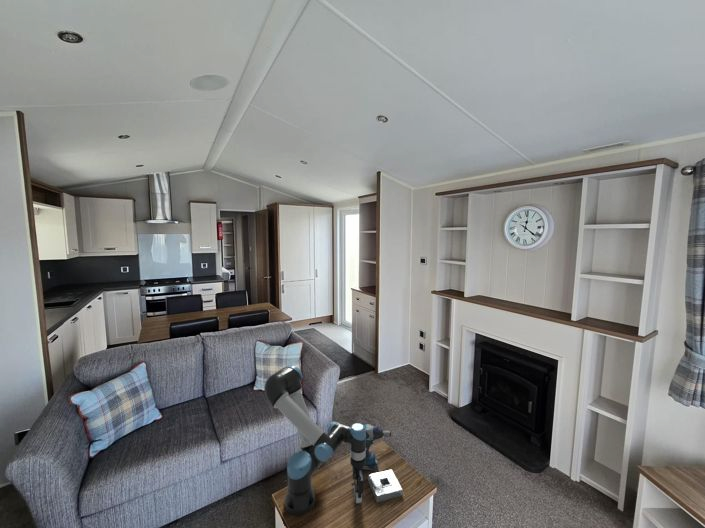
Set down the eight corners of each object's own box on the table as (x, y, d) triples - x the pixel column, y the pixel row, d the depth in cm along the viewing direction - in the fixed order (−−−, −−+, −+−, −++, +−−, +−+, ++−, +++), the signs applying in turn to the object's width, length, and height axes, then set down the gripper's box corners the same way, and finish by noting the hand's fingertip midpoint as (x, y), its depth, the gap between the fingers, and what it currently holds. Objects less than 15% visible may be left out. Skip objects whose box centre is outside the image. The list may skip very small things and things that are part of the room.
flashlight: (352, 506, 155) (352, 484, 154) (350, 500, 158) (350, 478, 157) (365, 502, 157) (365, 481, 155) (362, 497, 160) (362, 475, 159)
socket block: (376, 502, 157) (376, 495, 157) (367, 480, 170) (367, 474, 170) (402, 495, 161) (402, 489, 161) (391, 475, 174) (391, 469, 174)
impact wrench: (390, 475, 174) (390, 433, 171) (350, 468, 179) (350, 428, 176) (391, 464, 182) (391, 424, 179) (353, 458, 187) (353, 419, 184)
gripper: (370, 466, 148) (370, 511, 151) (360, 443, 163) (360, 484, 166) (355, 469, 146) (355, 514, 149) (346, 446, 161) (346, 487, 164)
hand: (357, 498), depth 157 cm, fingers closed on flashlight, 3 cm apart
